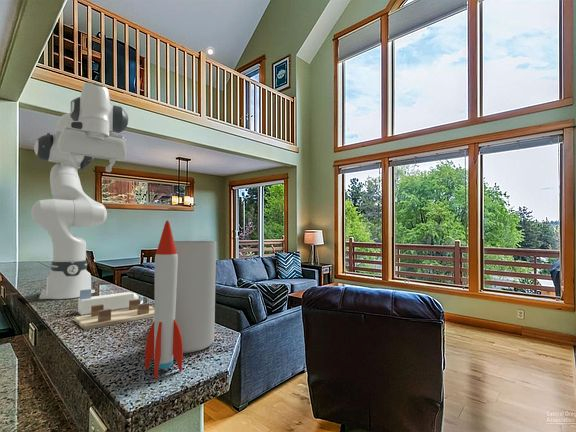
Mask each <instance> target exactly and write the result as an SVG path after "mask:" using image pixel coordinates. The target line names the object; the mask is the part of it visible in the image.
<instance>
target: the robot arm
mask: <svg viewBox="0 0 576 432" xmlns="http://www.w3.org/2000/svg"><path fill="white" fill-rule="evenodd" d="M128 124H129V115H128V113H127V111H125V109H124V108H123V107H122V106H120V105H112V104H111V98H110V92H109V89H108V87H106V86H105V85H102V84H99V83H96V82H89V81H87V82H83V84H82V88H81V94H80V96H79V97H76V98H74V99H72V100H71V101H70V112H68V113H64V114H63V115H61V116H60V117H59V118H58V120H57V122H56V124H55V127H54V128H55V129H54V130H55V131H54V134H53V133H52V134H51V133H50V132H47V133H46V134H45V135H42V136H39V137H38V138H37V140H36V141H35V143H34V146H33V150H34V153H35V156H36V158H37V159H39V160H41V161H43V162H51V163H54V165H53V166H52V167H51V169H50V172H49V173H50V174H49V185H50V193H51V196H52V198H49V199H48V198H47V199H40V200H37V201H36V202H35V203H34V204H33V206H32V207H31V210H30V214H31V218H32V220H33V222H34V223H36V224H37V225H38V226H40V227H41V228H42V229H44V230H45V231H46V232H47V233H48V235H49V237H50V239H51V242H52V243H51V244H52V255H53V257H52V261H51V264H50V270H51V271H50V274H48V276H47V277H46V278H45V279H44V280H42V286H43V287H44V288H43V290H41V293H40V295H39V297H38V299H39V300H47V299H48V300H64V299H74V298H80V290H86V289H91V294H94V293H96V290H95V289H92V279H91V278H92V276H91V273H90V272H89V271H88V270H87V269H88V260H87V241H86V240H85V239H84V238H83V237H81V236H79V235H78V234H77V235H76V234H74V233H72V232H71V230H70V228H73V227H74V228H76V227H77V228H91V227H97V226H101V225H103V224H104V223H105V222H106V220H107V217H108V212H107V208H106V206H105V205H104V204H103V203H101V202H98V201H96V200H95V199H93V198H92V197H90V196H88V194H86V193H85V192H84V190H83V186H82V184H81V180H80V179H81V178H80V176H79V174H78V173H79V172H78V171H79V170H81V171H83V170H84V169H85V168H87V167H89V166H90V165H91V164H92V162H93V160H94V158H96V159H103V160H104V159H105V160H109V161H108V162H109V163H110V164H109V165H108V166H105V172H107V173H111V172H112V169H113V166H114V165H115V163H116V161H117V162H123V161H125V160H126V159H127V142H128V141H127V139H126V138H125V137H124V136H123V135H121V133H122V132H123V131H125V130H126V128H127V127H128ZM116 133H117V134H116ZM55 163H56V164H55Z"/></svg>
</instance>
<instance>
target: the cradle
mask: <svg viewBox="0 0 576 432" xmlns="http://www.w3.org/2000/svg"><path fill="white" fill-rule="evenodd" d="M149 318H154V306H151V305H150V303H149V302H144V303H141V299H139V298H138V299H135V300H129V307H127V308H121V309H115V310H111V309H105V310H104V305H103V304H101V305H94V306H91V313H90V314H84V315H80V316H74V318H73V319H74V322H76V323H77V325H79V326H80V327H81V328H82V329H83V330H84V331H86V330H91V329H97V328H102V327H108V326H112V325H118V324H122V323H123V324H124V323H128V322H133V321H139V320H143V319H149Z"/></svg>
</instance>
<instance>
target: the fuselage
mask: <svg viewBox="0 0 576 432" xmlns="http://www.w3.org/2000/svg"><path fill="white" fill-rule="evenodd" d="M91 289H92V288H91ZM91 289H86V290H80V297H77V298H78V299H77V300H78V301H77V304H78V305H77V313H78V314H79V315H80V316H85V315H91V306H94V305H101V304H103V305H104V310H105V309H111V311H116V310H122V309H128V308H129V300H135V299H139V296H138V294H137V293H135V292H131V291H125V292H119V293H111V294H101V295H96V296H93V295H92V293H91Z"/></svg>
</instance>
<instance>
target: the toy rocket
mask: <svg viewBox="0 0 576 432" xmlns="http://www.w3.org/2000/svg"><path fill="white" fill-rule="evenodd" d="M173 236H174V235H173V231H172V227H171V224H170V222H169V220H166V221H165V222H164V226H163V229H162V233H161V236H160V240H159V242H158V246H157V249H156V252H155V255H154V301H153V302H154V306H153V307H154V317H153V318H154V322H153V321H152V324H151V325H150V329H149V330H148V334H147V336H146V342H145V349H144V350H145V351H144V352H145V353H144V362H145V363H144V370H145V371H146V370H148V369H149V367H150V365H151V362H152V360H154V361H153V366H154V369H153V372H154V373H153V376H154V377H153V379H154V380H157V379H158V376H159V369H160V370H162V369H168V368H170V367H171V366H173V365H174V359H175V362H176V364H177V367H178V370H179V371H180V372H183V359H184V357H183V355H184V353H183V344H182V336H181V333H180V329H179V327H178V324H177V322H176V320H175V309H176V288H177V266H178V255H177V251H176V248H175V244H174V241H175V240H174V237H173Z"/></svg>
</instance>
